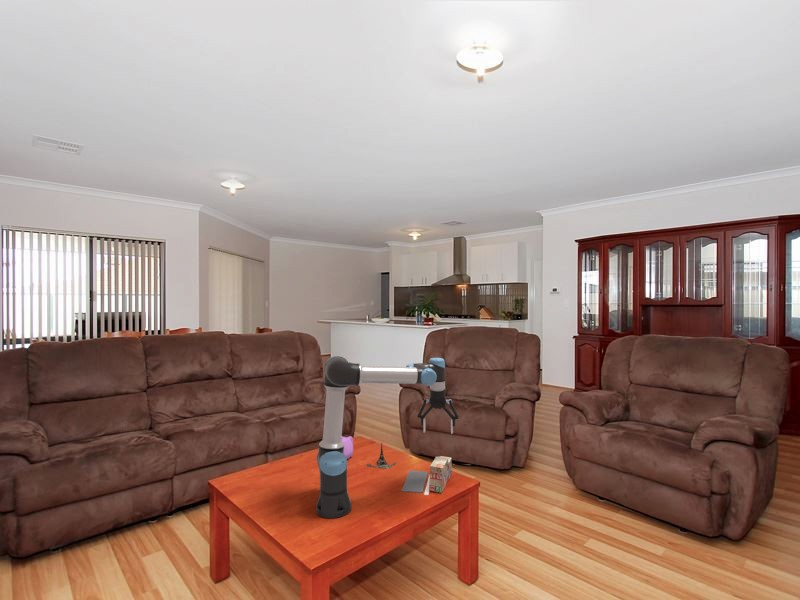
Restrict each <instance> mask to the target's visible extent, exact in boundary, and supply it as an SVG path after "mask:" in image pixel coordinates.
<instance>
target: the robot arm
mask: <svg viewBox="0 0 800 600" xmlns="http://www.w3.org/2000/svg"><path fill="white" fill-rule="evenodd" d="M445 362H446V361H445V359H444V358H442V357H431V358H430V359H429V362H421V363H419V362H418V363H416V362H415V363H414V362H413V363H408V364H406V366H383V365H381V366H377V365H376V366H374V365H362V364H360V363H353V362H349V361H348V360H347V358H345V357H343V356H340V355H336V356H335V355H334V356H332V357H329V358H328V359H327V360H326V361H325V363H324V366H323V372H324V378H323V386H324V388H325V389H326V392H325V393H326V395H325V408H324V419H323V430H322V431H323V432H322V440H321V441H320V442H319V443H318V451H317V454H316V463H317V466H318V472H319V497H318V499H317V501H316V502H317V503H316V506H315V511H316V512H315V513H316V514H317V515H318V516H319V517H322V518H324V519H337V518H342V517H344V516H346V515H348V514H349V513H351V510H352V500H351V498H350V496H349V493H348V459H347V458H346V456H345V455H344V443H343V442H342V441H341V437H342V436H343V424H344V423H343V421H344V410H345V400H346V399H345V398H346V397H345V396H346V390H347V389H348V388H349V387H350V386H354V387H355V386H360V385H361V384H387V385H388V384H392V385H393V384H396V385H397V384H399V385H400V384H401V385H402V384H403V385H404V384H406V385H408V384H410V385H412V384H414V385H425V386H428V387H429V389H430V390H429V399H427V398H424V399H423V403H422V406H421V408H420V409H419V412H418V414H417V418H419V419H420V425H421V426H423V431H422V432H423V433H424V434H425V433H426V432H427V431H426V430H427V429H426V427H427V426H426V416H427V415H428V414H429V413H430V411H432V409H433V408H434V409H439V410H441V409H443V410H444V411H445V413H446V414H447V415H448V416H449V418H450V433H451V435H452V434H454V428H455V427H456V420H458V419H459V418H460V417H459V414H458V412H457V410H456V408H455V407H454V404H453V400H452V398H449V399H446V363H445ZM446 403H447V404H448V405H449V407H450V409H451V411H452V412H451V411H450V409H449V408H448V407H447V405H446ZM427 404H430V405H429V407H428V408H427V409H426V410H425V411H424V409H425V407H426V405H427ZM423 411H424V412H423Z"/></svg>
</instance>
